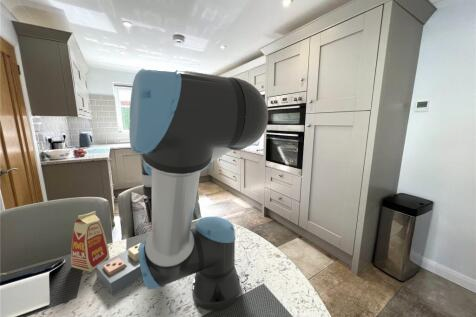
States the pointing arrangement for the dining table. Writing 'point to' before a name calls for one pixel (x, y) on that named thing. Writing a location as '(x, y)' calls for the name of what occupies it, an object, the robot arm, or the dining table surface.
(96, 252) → the milk carton
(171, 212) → the robot arm
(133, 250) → the tile two
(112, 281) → the button board
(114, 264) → the tile three
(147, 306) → the dining table surface
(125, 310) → the dining table surface
